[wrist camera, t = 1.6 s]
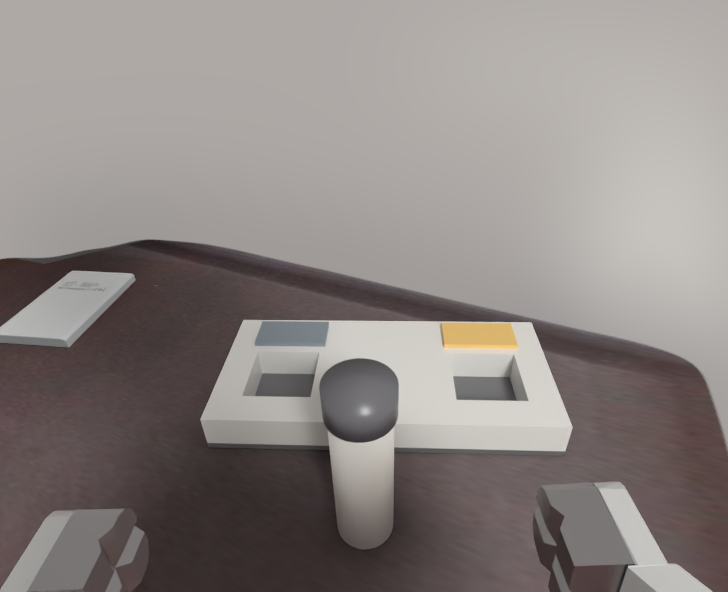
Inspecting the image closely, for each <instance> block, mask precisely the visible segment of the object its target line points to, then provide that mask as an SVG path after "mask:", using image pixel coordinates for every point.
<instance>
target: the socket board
mask: <svg viewBox="0 0 728 592" xmlns="http://www.w3.org/2000/svg"><path fill="white" fill-rule="evenodd" d="M356 358H365V359H372V360H376V361H379V362H381V363H383V364H385V365H387V366H388V367H389V368H391V369H392V370H393V372H394V373H395V374H396V376H397V378H398V383H399V401H398V419H397V422H396V424H395V426H394V452H418V453H459V454H500V455H542V456H564V454H565V451H566V447H567V444H568V441H569V438H570V434H571V431H572V428H573V427H572V425H571V422H570V420H569V417H568V414H567V412H566V409H565V407H564V404H563V402H562V399H561V397H560V394H559V392H558V389H557V387H556V384H555V381H554V379H553V376H552V374H551V371H550V369H549V366H548V364H547V361H546V359H545V356H544V353H543V351H542V348H541V346H540V343H539V341H538V338H537V336H536V333H535V331H534V328H533V325H532V323H531V322H423V321H308V320H243V322H242V325H241V327H240V329H239V331H238V334H237V336H236V338H235V341H234V343H233V345H232V348H231V350H230V352H229V354H228V357H227V359H226V361H225V364H224V366H223V368H222V371H221V373H220V375H219V378H218V380H217V382H216V384H215V387H214V389H213V391H212V394H211V396H210V398H209V401H208V403H207V405H206V407H205V410H204V412H203V414H202V417H201V419H200V421H201V424H202V427H203V430H204V434H205V437H206V440H207V443H208V447H212V448H253V449H294V450H330V449H329V439H328V429H327V428H326V427H325V425H324V422H323V418H322V409H321V400H320V390H319V384H320V380H321V378H322V376H323V375H324V373H325V372H326V371H327V370H328V369H329V368H331V367H332V366H334V365H335V364H337V363H339V362H342V361H345V360H349V359H356Z"/></svg>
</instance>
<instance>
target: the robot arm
mask: <svg viewBox="0 0 728 592" xmlns="http://www.w3.org/2000/svg"><path fill="white" fill-rule="evenodd" d="M536 499H537V502H538V505H539V507H540V508H538V509H537V510H536V511H535V512H534V516H533V533H534V541H535V545H536V549H537V553H538V556H539V559H540V562H541V564H542V565H543V566H545V567H546V568H547V569H548V570H549V571H550V572H551V574H550V580H549V585H548V587H549V590H550V592H712V591H711V590H710V589H709V588H707V587H706V586H705V585H703V584H702V583H701V582H700V581H698V580H697V579H696V578H694V577H693V576H692V575H690V574H689V573H688V572H687V571H685V570H684V569H683V568H681V567H680V566H679V565H678V564H668V563H667V561H666V559H665V558H664V556H663V554H662V552H661V550H660V549H659V547H658V545H657V543H656V542H655V540H654V538H653V536H652V534H651V533H650V531H649V529H648V527H647V525H646V524H645V522H644V520H643V518H642V517H641V515H640V513H639V511H638V509H637V508H636V506H635V504H634V502H633V500H632V499H631V497H630V495H629V493H628V492H627V490H626V488H625V486H623V485H622V484H621V483H620V482H601V483H590V482H588V483H574V484H559V485H544V486H540V487H539V488H538V490H537V496H536ZM137 519H138V518H137V516H136V514H135V513H134V511H133V509H132V508H119V509H88V510H61V511H54V512H52V513H51V514H50V515H49V516H48V517H46V518H45V520H44V521H43V523H42V524H41V526H40V528H39V529H38V531H37V532H36V534H35V536H34V537H33V539H32V540H31V542H30V543H29V545H28V547H27V548H26V550H25V551H24V553H23V554H22V556H21V558H20V559H19V561H18V562H17V564H16V566H15V567H14V569H13V570H12V572H11V573H10V575H9V577H8V578H7V580H6V581H5V583H4V585H3V586H2V588H1V589H0V592H132V591H133V590H134V589H135V588H136V587H137V586H138V585H139V584H140V583H141V582H142V580H143V577H144V574H145V572H146V569H147V566H148V559H149V552H150V549H149V542H148V538H147V536H146V534H145V532H144V531H142V530H140V529H139V528H137V527H136V526H135V523H136V521H137Z"/></svg>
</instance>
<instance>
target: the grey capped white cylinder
mask: <svg viewBox="0 0 728 592" xmlns="http://www.w3.org/2000/svg"><path fill="white" fill-rule="evenodd" d="M319 390H320V400H321V409H322V418H323V422H324V425H325V427H326V428H327V429H328V439H329V449H330V459H331V469H332V479H333V489H334V498H335V508H336V518H337V528H338V532H339V534H340V536H341V538H342V539H343V540H344V541H345V542H346V543H347V544H348V545H350V546H352V547H354V548H357V549H363V550H365V549H373V548H376V547H378V546H380V545H381V544H383V543H384V542H385V541H386V540H387V539H388V538H389V536H390V534H391V532H392V529H393V511H394V426H395V424H396V422H397V419H398V401H399V383H398V378H397V376H396V374H395V373H394V372H393V370H392V369H391V368H389V367H388V366H387V365H385V364H383V363H381V362H379V361H376V360H372V359H365V358H356V359H349V360H345V361H342V362H339V363H337V364H335V365H334V366H332V367H331V368H329V369H328V370H327V371H326V372H325V373H324V375H323V376H322V378H321V380H320V384H319Z"/></svg>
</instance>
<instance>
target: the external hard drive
mask: <svg viewBox="0 0 728 592" xmlns="http://www.w3.org/2000/svg"><path fill="white" fill-rule="evenodd" d="M135 281H136V280H135V277H134V275H133V274H131V273H111V272H92V271H71V272H70V273H68V274H67V275H66V276H65V277H63V278H62V279H61V280H59V281H58V282H57V283H56V284H54V285H53V286H52V287H51V288H49V289H48V290H47V291H45V292H44V293H43V294H42V295H40V296H39V297H38V298H36V299H35V300H34V301H33V302H31V303H30V304H29V305H28V306H26V307H25V308H24V309H23V310H21V311H20V312H19V313H17V314H16V315H15V316H14V317H12V318H11V319H10V320H9V321H7V322H6V323H5V324H4V325H2V326H1V327H0V342H2V343H16V344H30V345H44V346H57V347H70V346H71V345H72V344H73V343H74V342H75V341H76V340H77V339H78V338H79V337H80V336H81V335H82V334H83V333H84V332H85V331H86V330H87V329H88V328H89V327H90V326H91V325H92V324H93V323H94V322H95V321H96V320H97V319H98V318H99V317H100V316H101V315H102V314H103V313H104V312H105V311H106V310H107V309H108V308H109V307H110V306H111V305H112V304H113V303H114V302H115V301H116V300H117V299H118V298H119V297H120V296H121V295H122V294H123V293H124V292H125V291H126V290H127V289H128V288H129V287H130V285H132V284H133V283H134V282H135Z"/></svg>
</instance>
